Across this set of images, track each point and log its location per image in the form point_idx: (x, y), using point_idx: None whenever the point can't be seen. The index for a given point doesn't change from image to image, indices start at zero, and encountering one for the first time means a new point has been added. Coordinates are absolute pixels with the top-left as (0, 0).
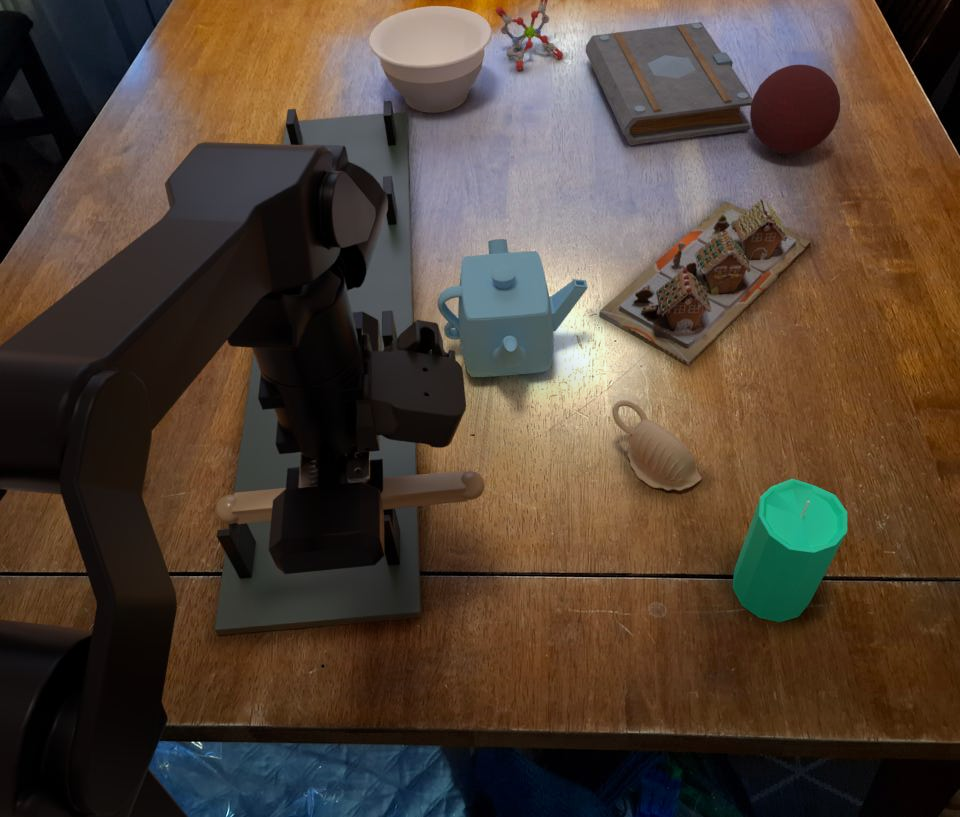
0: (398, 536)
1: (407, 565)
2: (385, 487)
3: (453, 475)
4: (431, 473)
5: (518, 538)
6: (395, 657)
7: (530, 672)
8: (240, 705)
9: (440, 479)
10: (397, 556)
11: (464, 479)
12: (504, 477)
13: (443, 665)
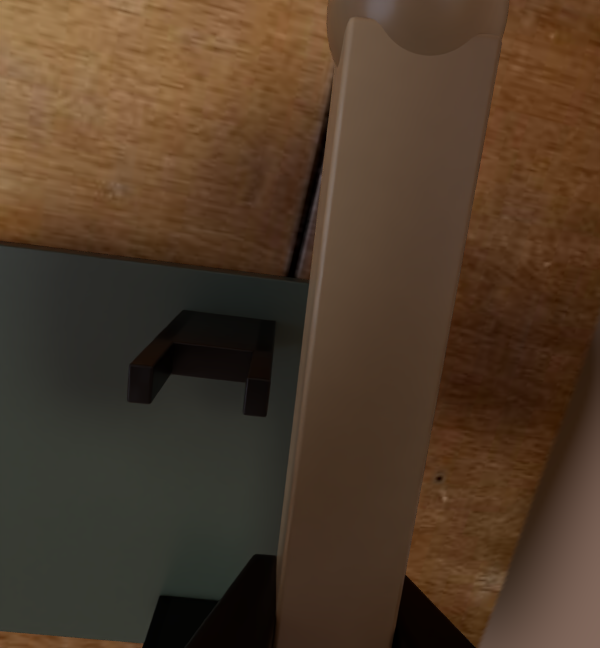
0: (215, 319)
1: (282, 305)
2: (358, 512)
3: (375, 102)
4: (324, 244)
5: (249, 26)
6: (461, 351)
7: (577, 83)
8: (469, 606)
9: (387, 195)
10: (275, 330)
11: (439, 28)
12: (59, 18)
13: (505, 262)
